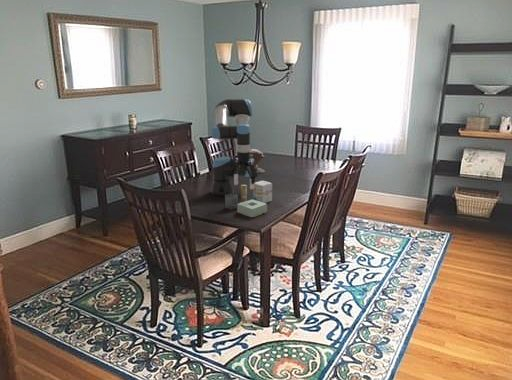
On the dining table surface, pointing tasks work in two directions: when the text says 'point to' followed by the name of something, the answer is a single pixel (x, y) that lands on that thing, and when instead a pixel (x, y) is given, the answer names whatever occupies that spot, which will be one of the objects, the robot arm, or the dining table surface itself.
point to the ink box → (262, 191)
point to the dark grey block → (231, 201)
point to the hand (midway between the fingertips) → (243, 186)
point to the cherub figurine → (257, 159)
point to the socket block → (252, 208)
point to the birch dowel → (243, 193)
